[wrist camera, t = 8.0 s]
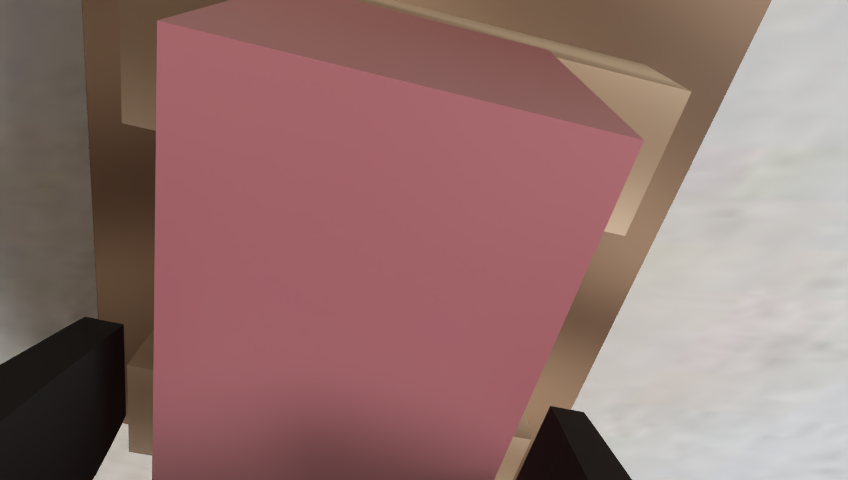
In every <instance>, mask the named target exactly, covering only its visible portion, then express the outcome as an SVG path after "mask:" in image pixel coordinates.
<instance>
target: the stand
mask: <svg viewBox="0 0 848 480" xmlns="http://www.w3.org/2000/svg"><path fill="white" fill-rule="evenodd" d="M225 1H229V0H82V13H83V33H84V52H85V71H86V91H87V110H88V130H89V149H90V168H91V188H92V207H93V227H94V246H95V265H96V285H97V304H98V319H99V320H104V321H109V322H114V323H120V324H124V351H125V391H126V417H125V419H124V421H123V423H125V424H128V425H129V452H134V453H140V454H146V455H153V361H154V267H155V173H156V79H157V20H161V19H164V18H168V17H171V16H175V15H179V14H182V13H186V12H189V11H193V10H196V9H200V8H204V7H207V6H211V5H214V4H218V3H221V2H225ZM356 1H360V2H364V3H368V4H372V5H376V6H380V7H383V8H387V9H391V10H395V11H399V12H403V13H407V14H411V15H415V16H418V17H422V18H426V19H430V20H434V21H438V22H442V23H446V24H449V25H453V26H457V27H461V28H465V29H469V30H473V31H477V32H480V33H484V34H488V35H492V36H496V37H500V38H504V39H508V40H512V41H515V42H519V43H523V44H527V45H531V46H535V47H539V48H543V49H546V50H549V51H550V52H551V53H552V54H553V55H554V56H555V57H556V58H557V59H558V60H559V61H561V62H562V63H563V64H564V65H565V66H566V67H567V68H568V69H569V70H570V71H571V72H572V73H573V74H574V75H575V76H577V77H578V78H579V79H580V80H581V81H582V82H583V83H584V84H585V85H586V86H587V87H588V88H589V89H590V90H591V91H592V92H594V93H595V94H596V95H597V96H598V97H599V98H600V99H601V100H602V101H603V102H604V103H605V104H606V105H607V106H608V107H609V108H611V109H612V110H613V111H614V112H615V113H616V114H617V115H618V116H619V117H620V118H621V119H622V120H623V121H624V122H625V123H627V124H628V125H629V126H630V127H631V128H632V129H633V130H634V131H635V132H636V133H637V134H638V135H639V136H640V137H641V138H642V139H644V142H643V144H642V147H641V149H640V151H639V153H638V156H637V158H636V160H635V162H634V165H633V167H632V169H631V172H630V174H629V176H628V178H627V181H626V183H625V185H624V187H623V190H622V192H621V194H620V196H619V199H618V201H617V203H616V205H615V208H614V210H613V212H612V214H611V217H610V219H609V221H608V224H607V226H606V228H605V230H604V233H603V235H602V237H601V239H600V242H599V244H598V246H597V248H596V251H595V253H594V255H593V257H592V260H591V262H590V264H589V266H588V269H587V271H586V273H585V276H584V278H583V280H582V282H581V285H580V287H579V289H578V291H577V294H576V296H575V298H574V300H573V303H572V305H571V307H570V309H569V312H568V314H567V316H566V318H565V321H564V323H563V325H562V328H561V330H560V332H559V334H558V337H557V339H556V341H555V343H554V346H553V348H552V350H551V352H550V355H549V357H548V359H547V361H546V364H545V366H544V368H543V371H542V373H541V375H540V377H539V380H538V382H537V384H536V386H535V389H534V391H533V393H532V395H531V398H530V400H529V402H528V404H527V407H526V409H525V411H524V413H523V416H522V418H521V420H520V423H519V425H518V427H517V429H516V432H515V434H514V436H513V438H512V441H511V443H510V445H509V447H508V450H507V452H506V454H505V456H504V459H503V461H502V463H501V465H500V468H499V470H498V472H497V475H496V477H495V479H494V480H516V478H517V476H518V474H519V472H520V470H521V468H522V466H523V463H524V461H525V459H526V457H527V455H528V453H529V450H530V448H531V446H532V444H533V442H534V440H535V438H536V435H537V433H538V431H539V429H540V427H541V425H542V423H543V420H544V418H545V416H546V414H547V412H548V410H549V407H550V406H554V407H559V408H564V409H569V410H571V408H572V406H573V404H574V402H575V400H576V398H577V396H578V394H579V392H580V390H581V388H582V386H583V384H584V382H585V380H586V377H587V375H588V373H589V371H590V369H591V367H592V365H593V363H594V361H595V359H596V357H597V355H598V353H599V351H600V349H601V347H602V345H603V343H604V341H605V339H606V337H607V335H608V333H609V331H610V329H611V327H612V324H613V322H614V320H615V318H616V316H617V314H618V312H619V310H620V308H621V306H622V304H623V302H624V300H625V298H626V296H627V294H628V292H629V290H630V288H631V286H632V284H633V282H634V280H635V278H636V276H637V274H638V272H639V269H640V267H641V265H642V263H643V261H644V259H645V257H646V255H647V253H648V251H649V249H650V247H651V245H652V243H653V241H654V239H655V237H656V235H657V233H658V231H659V229H660V227H661V225H662V223H663V221H664V219H665V216H666V214H667V212H668V210H669V208H670V206H671V204H672V202H673V200H674V198H675V196H676V194H677V192H678V190H679V188H680V186H681V184H682V182H683V180H684V178H685V176H686V174H687V172H688V170H689V168H690V166H691V164H692V161H693V159H694V157H695V155H696V153H697V151H698V149H699V147H700V145H701V143H702V141H703V139H704V137H705V135H706V133H707V131H708V129H709V127H710V125H711V123H712V121H713V119H714V117H715V115H716V113H717V111H718V108H719V106H720V104H721V102H722V100H723V98H724V96H725V94H726V92H727V90H728V88H729V86H730V84H731V82H732V80H733V78H734V76H735V74H736V72H737V70H738V68H739V66H740V64H741V62H742V60H743V58H744V56H745V53H746V51H747V49H748V47H749V45H750V43H751V41H752V39H753V37H754V35H755V33H756V31H757V29H758V27H759V25H760V23H761V21H762V19H763V17H764V15H765V13H766V11H767V9H768V7H769V5H770V3H771V0H356Z"/></svg>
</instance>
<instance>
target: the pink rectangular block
mask: <svg viewBox="0 0 848 480" xmlns="http://www.w3.org/2000/svg"><path fill="white" fill-rule="evenodd" d="M643 142H644V139H642V138H641V137H640V136H639V135H638V134H637V133H636V132H635V131H634V130H633V129H632V128H631V127H630V126H629V125H628V124H627V123H625V122H624V121H623V120H622V119H621V118H620V117H619V116H618V115H617V114H616V113H615V112H614V111H613V110H612V109H611V108H609V107H608V106H607V105H606V104H605V103H604V102H603V101H602V100H601V99H600V98H599V97H598V96H597V95H596V94H595V93H594V92H592V91H591V90H590V89H589V88H588V87H587V86H586V85H585V84H584V83H583V82H582V81H581V80H580V79H579V78H578V77H577V76H575V75H574V74H573V73H572V72H571V71H570V70H569V69H568V68H567V67H566V66H565V65H564V64H563V63H562V62H561V61H559V60H558V59H557V58H556V57H555V56H554V55H553V54H552V53H551V52H550V51H549V50H546V49H543V48H539V47H535V46H531V45H527V44H523V43H519V42H515V41H512V40H508V39H504V38H500V37H496V36H492V35H488V34H484V33H480V32H477V31H473V30H469V29H465V28H461V27H457V26H453V25H449V24H446V23H442V22H438V21H434V20H430V19H426V18H422V17H418V16H415V15H411V14H407V13H403V12H399V11H395V10H391V9H387V8H383V7H380V6H376V5H372V4H368V3H364V2H360V1H356V0H229V1H225V2H221V3H218V4H214V5H211V6H207V7H204V8H200V9H196V10H193V11H189V12H186V13H182V14H179V15H175V16H171V17H168V18H164V19H161V20H157V79H156V173H155V267H154V361H153V455H152V480H494V479H495V477H496V475H497V472H498V470H499V468H500V465H501V463H502V461H503V459H504V456H505V454H506V452H507V450H508V447H509V445H510V443H511V441H512V438H513V436H514V434H515V432H516V429H517V427H518V425H519V423H520V420H521V418H522V416H523V413H524V411H525V409H526V407H527V404H528V402H529V400H530V398H531V395H532V393H533V391H534V389H535V386H536V384H537V382H538V380H539V377H540V375H541V373H542V371H543V368H544V366H545V364H546V361H547V359H548V357H549V355H550V352H551V350H552V348H553V346H554V343H555V341H556V339H557V337H558V334H559V332H560V330H561V328H562V325H563V323H564V321H565V318H566V316H567V314H568V312H569V309H570V307H571V305H572V303H573V300H574V298H575V296H576V294H577V291H578V289H579V287H580V285H581V282H582V280H583V278H584V276H585V273H586V271H587V269H588V266H589V264H590V262H591V260H592V257H593V255H594V253H595V251H596V248H597V246H598V244H599V242H600V239H601V237H602V235H603V233H604V230H605V228H606V226H607V224H608V221H609V219H610V217H611V214H612V212H613V210H614V208H615V205H616V203H617V201H618V199H619V196H620V194H621V192H622V190H623V187H624V185H625V183H626V181H627V178H628V176H629V174H630V172H631V169H632V167H633V165H634V162H635V160H636V158H637V156H638V153H639V151H640V149H641V147H642V144H643Z"/></svg>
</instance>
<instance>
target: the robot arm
mask: <svg viewBox="0 0 848 480" xmlns="http://www.w3.org/2000/svg"><path fill="white" fill-rule="evenodd" d="M125 417H126V391H125V351H124V324H120V323H114V322H109V321H104V320H99V319H93V318H88V317H84V318H82V319H80V320H78V321H77V322H75V323H73V324H71V325H69V326H67V327H66V328H64V329H62V330H60V331H59V332H57V333H55V334H53V335H52V336H50V337H48V338H46V339H45V340H43V341H41V342H39V343H38V344H36V345H34V346H33V347H31V348H29V349H27V350H26V351H24V352H22V353H20V354H19V355H17V356H15V357H13V358H12V359H10V360H8V361H6V362H5V363H3V364H1V365H0V480H92V479H93V478H94V476H95V475H96V473H97V471H98V469H99V467H100V465H101V464H102V462H103V460H104V458H105V456H106V454H107V452H108V450H109V449H110V447H111V445H112V443H113V441H114V439H115V437H116V435H117V433H118V431H119V429H120V427H121V425H122V423H123V421H124V419H125ZM516 480H632V479H631V478H630V476H629V475H628V474H627V472H626V471H625V469H624V468H623V467H622V465H621V464H620V462H619V461H618V459H617V458H616V457H615V455H614V454H613V452H612V451H611V450H610V448H609V447H608V445H607V444H606V442H605V441H604V440H603V438H602V437H601V435H600V434H599V432H598V431H597V430H596V428H595V427H594V426H593V424H592V423H591V421H590V420H589V419H588V417H587V416H586V415H585V413H584V412H580V411H574V410H569V409H564V408H559V407H554V406H550V407H549V410H548V412H547V414H546V416H545V418H544V420H543V423H542V425H541V427H540V429H539V431H538V433H537V435H536V438H535V440H534V442H533V444H532V446H531V448H530V450H529V453H528V455H527V457H526V459H525V461H524V463H523V466H522V468H521V470H520V472H519V474H518V476H517V478H516Z"/></svg>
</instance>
